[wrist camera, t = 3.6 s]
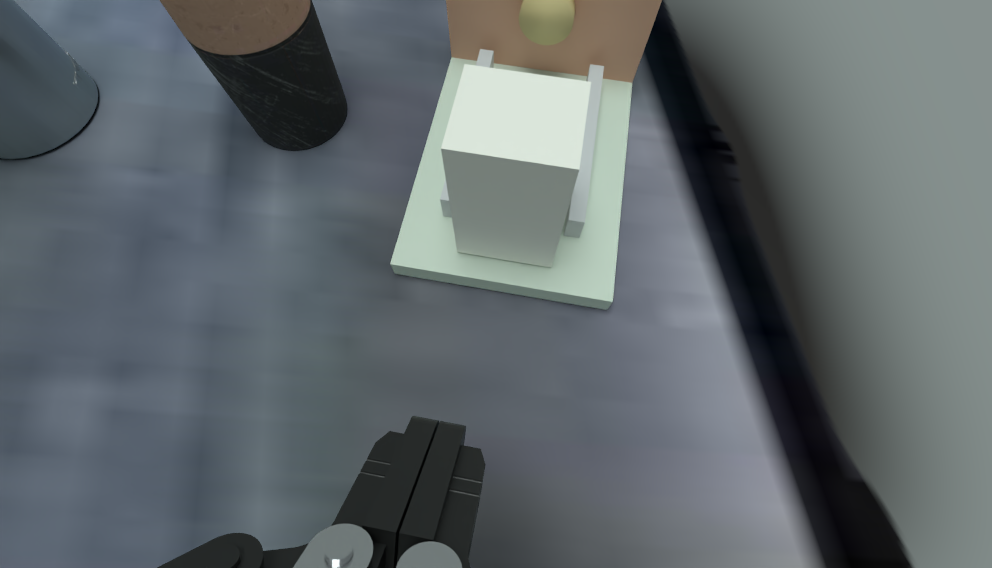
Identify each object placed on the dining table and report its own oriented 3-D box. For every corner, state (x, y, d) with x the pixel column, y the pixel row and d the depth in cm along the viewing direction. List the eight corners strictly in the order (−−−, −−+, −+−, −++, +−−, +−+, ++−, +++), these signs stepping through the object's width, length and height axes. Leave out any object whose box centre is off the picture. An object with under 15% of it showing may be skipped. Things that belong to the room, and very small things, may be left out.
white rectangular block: (551, 267, 29) (579, 169, 19) (457, 252, 29) (440, 148, 20) (561, 200, 31) (591, 82, 21) (472, 186, 31) (464, 64, 22)
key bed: (606, 310, 29) (671, 217, 19) (394, 273, 30) (342, 165, 20) (630, 60, 38) (684, -101, 27) (463, 37, 39) (452, -128, 28)
